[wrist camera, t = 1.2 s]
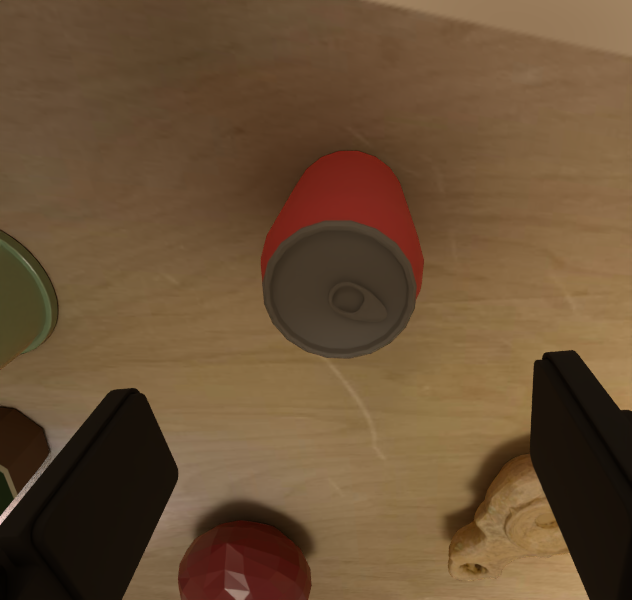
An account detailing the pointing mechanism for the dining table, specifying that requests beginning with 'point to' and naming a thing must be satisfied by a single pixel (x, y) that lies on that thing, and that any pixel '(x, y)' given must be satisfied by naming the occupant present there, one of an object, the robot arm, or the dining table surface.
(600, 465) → the robot arm
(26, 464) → the beer bottle
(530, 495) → the oil lamp
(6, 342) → the cup stack
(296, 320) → the beer can
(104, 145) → the dining table surface
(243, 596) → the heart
